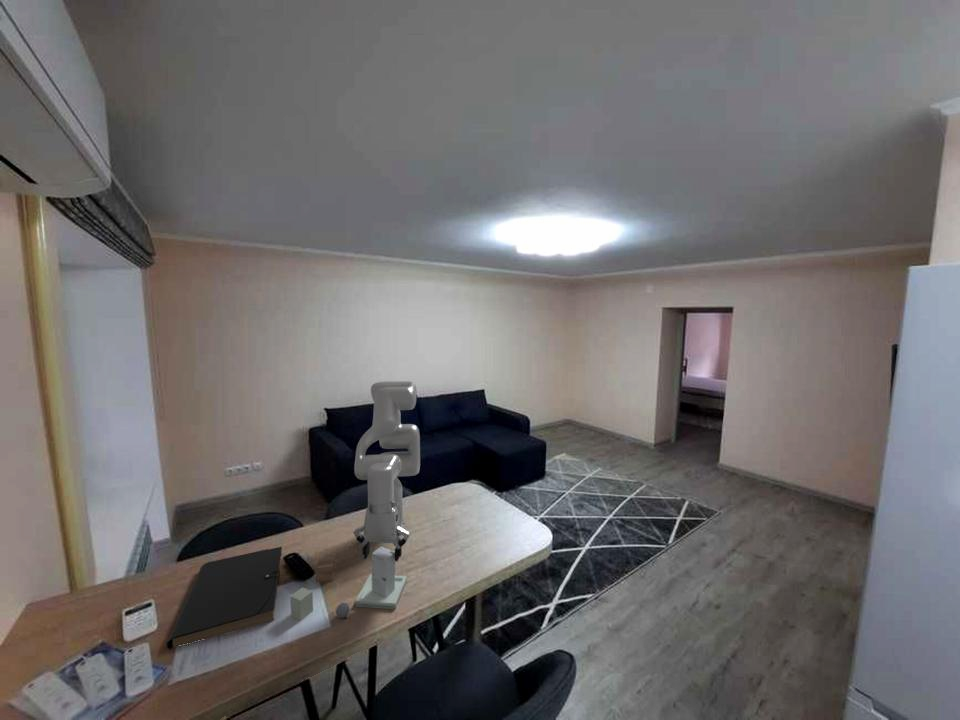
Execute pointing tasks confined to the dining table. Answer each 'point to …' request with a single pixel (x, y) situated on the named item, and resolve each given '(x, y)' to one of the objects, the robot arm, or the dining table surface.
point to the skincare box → (383, 571)
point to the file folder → (229, 597)
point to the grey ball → (342, 610)
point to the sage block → (301, 603)
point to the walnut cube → (325, 569)
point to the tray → (378, 601)
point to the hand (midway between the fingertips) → (382, 557)
